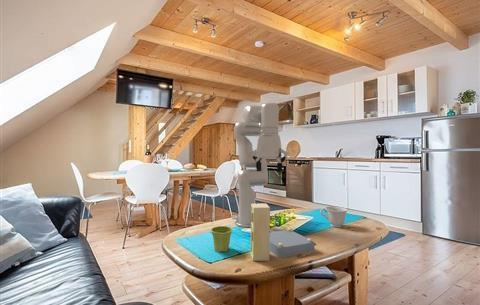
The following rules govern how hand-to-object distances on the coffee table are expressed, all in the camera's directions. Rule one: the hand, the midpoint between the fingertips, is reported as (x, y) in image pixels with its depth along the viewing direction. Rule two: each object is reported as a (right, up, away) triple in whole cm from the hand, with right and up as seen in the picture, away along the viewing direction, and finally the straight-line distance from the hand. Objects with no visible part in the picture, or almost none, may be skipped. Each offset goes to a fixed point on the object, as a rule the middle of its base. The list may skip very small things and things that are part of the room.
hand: (268, 171), depth 111 cm
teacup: (+42, -34, +38) cm, 66 cm away
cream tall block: (-5, -34, -7) cm, 35 cm away
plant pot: (-21, -34, 0) cm, 40 cm away
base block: (+8, -34, +5) cm, 35 cm away
